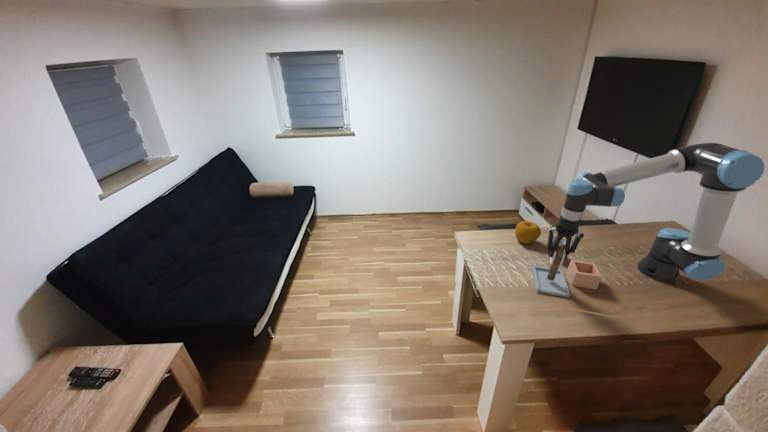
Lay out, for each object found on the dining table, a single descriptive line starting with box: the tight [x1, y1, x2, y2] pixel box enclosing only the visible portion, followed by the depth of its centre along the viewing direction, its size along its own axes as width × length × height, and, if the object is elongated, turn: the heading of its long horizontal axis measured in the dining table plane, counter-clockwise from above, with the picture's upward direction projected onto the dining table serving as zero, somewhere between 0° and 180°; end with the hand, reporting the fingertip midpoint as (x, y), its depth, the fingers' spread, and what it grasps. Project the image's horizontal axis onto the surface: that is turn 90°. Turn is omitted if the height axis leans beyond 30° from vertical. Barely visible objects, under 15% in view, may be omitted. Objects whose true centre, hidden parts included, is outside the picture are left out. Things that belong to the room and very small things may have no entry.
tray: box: [531, 265, 572, 298], centre depth 139 cm, size 18×13×2 cm
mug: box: [547, 236, 566, 257], centre depth 154 cm, size 10×8×10 cm
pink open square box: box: [566, 259, 602, 290], centre depth 138 cm, size 10×10×8 cm
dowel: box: [547, 244, 565, 281], centre depth 134 cm, size 3×3×18 cm
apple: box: [514, 220, 542, 245], centre depth 168 cm, size 13×13×11 cm
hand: (555, 263), depth 134 cm, fingers closed on dowel, 3 cm apart
